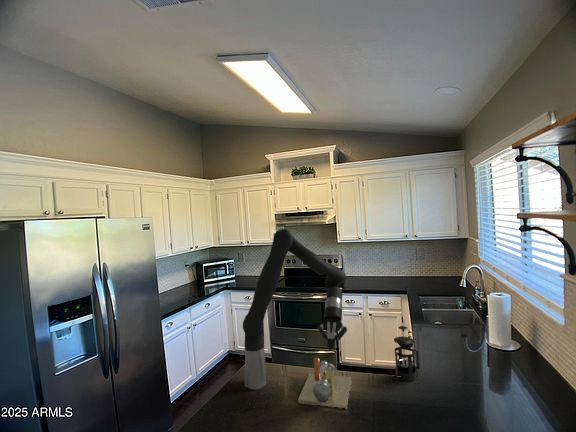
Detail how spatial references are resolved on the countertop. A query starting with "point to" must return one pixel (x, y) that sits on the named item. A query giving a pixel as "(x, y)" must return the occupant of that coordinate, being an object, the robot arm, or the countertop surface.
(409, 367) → the french press
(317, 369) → the valve lever
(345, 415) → the countertop surface
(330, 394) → the valve
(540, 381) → the countertop surface
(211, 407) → the countertop surface
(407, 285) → the countertop surface
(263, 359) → the robot arm
